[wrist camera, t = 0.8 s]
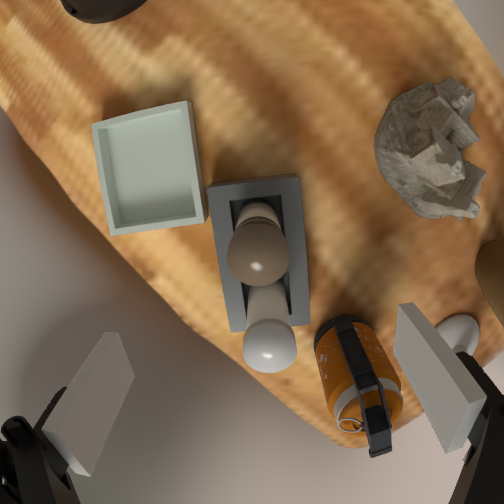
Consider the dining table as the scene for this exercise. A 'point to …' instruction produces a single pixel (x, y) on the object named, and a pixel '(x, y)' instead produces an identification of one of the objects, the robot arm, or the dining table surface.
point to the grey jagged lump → (431, 150)
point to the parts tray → (150, 169)
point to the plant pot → (492, 275)
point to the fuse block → (292, 226)
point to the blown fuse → (258, 245)
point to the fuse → (268, 329)
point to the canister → (358, 381)
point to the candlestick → (460, 333)
